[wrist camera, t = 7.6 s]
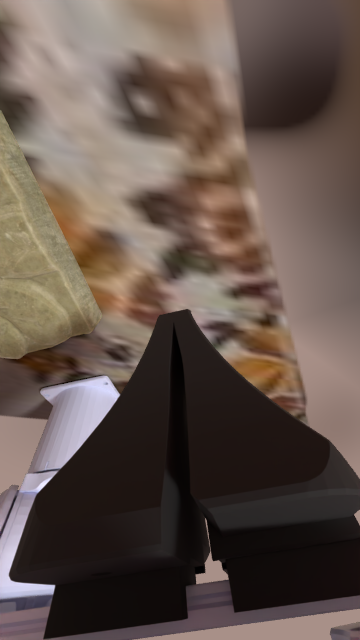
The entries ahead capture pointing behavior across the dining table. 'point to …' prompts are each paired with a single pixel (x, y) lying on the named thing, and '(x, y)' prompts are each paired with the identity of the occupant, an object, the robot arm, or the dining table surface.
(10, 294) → the decorative tile
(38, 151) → the dining table surface
